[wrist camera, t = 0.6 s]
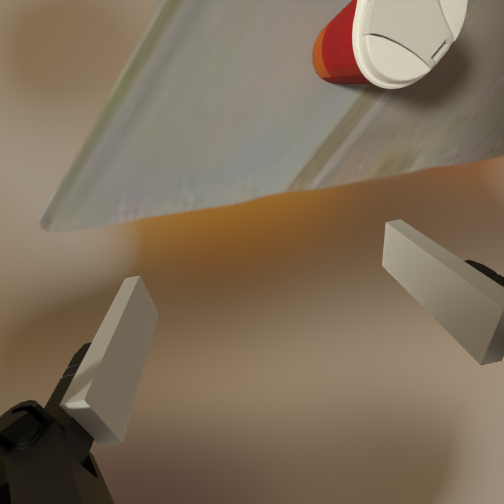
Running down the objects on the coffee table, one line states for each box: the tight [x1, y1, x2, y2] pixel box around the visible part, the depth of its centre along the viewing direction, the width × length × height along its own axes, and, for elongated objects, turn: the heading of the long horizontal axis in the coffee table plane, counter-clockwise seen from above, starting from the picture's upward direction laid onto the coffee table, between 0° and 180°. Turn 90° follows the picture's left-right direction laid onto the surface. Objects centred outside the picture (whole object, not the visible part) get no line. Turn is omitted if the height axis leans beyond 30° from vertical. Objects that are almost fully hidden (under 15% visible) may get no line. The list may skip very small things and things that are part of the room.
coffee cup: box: [313, 0, 468, 89], centre depth 25 cm, size 8×8×15 cm
